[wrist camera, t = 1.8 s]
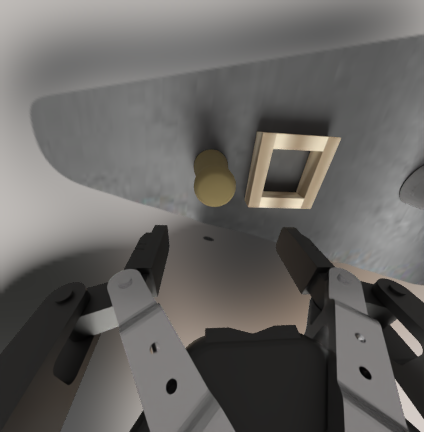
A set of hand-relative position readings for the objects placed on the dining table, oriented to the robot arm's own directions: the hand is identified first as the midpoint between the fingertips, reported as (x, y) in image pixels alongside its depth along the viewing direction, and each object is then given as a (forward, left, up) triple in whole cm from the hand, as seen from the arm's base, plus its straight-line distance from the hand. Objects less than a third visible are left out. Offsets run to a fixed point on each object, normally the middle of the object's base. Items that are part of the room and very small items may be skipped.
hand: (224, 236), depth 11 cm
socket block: (-13, 0, -19) cm, 23 cm away
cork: (0, 0, -19) cm, 19 cm away
